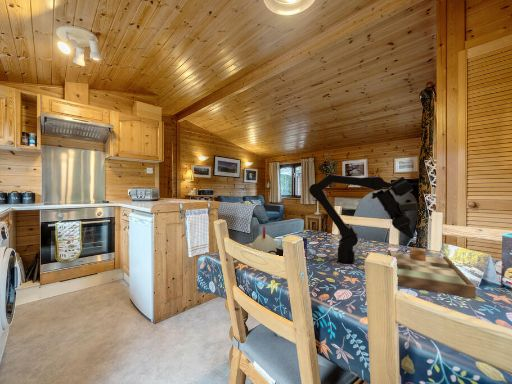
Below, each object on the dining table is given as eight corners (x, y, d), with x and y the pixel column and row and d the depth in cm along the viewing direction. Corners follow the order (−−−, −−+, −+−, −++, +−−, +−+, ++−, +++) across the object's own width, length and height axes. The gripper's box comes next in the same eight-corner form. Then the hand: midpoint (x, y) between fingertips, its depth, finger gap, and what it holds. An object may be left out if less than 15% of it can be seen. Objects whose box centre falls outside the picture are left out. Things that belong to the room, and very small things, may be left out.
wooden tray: (390, 284, 80) (390, 274, 80) (387, 257, 111) (387, 250, 111) (475, 298, 70) (475, 286, 69) (446, 264, 100) (446, 256, 100)
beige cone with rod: (277, 255, 115) (277, 225, 115) (280, 264, 101) (280, 230, 101) (249, 255, 115) (249, 225, 115) (248, 264, 102) (248, 230, 101)
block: (411, 259, 99) (411, 250, 99) (409, 256, 104) (409, 247, 104) (425, 261, 97) (425, 251, 97) (423, 258, 101) (423, 248, 101)
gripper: (411, 195, 87) (437, 232, 84) (405, 190, 103) (427, 221, 101) (382, 210, 92) (406, 245, 89) (381, 203, 108) (401, 232, 106)
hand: (411, 235), depth 96 cm, fingers open, 9 cm apart
